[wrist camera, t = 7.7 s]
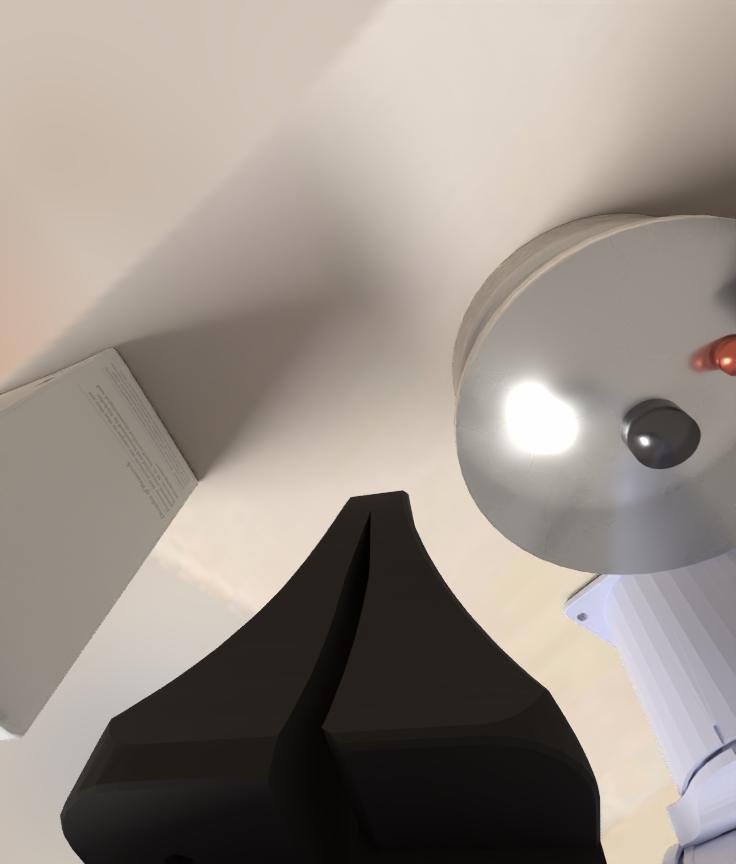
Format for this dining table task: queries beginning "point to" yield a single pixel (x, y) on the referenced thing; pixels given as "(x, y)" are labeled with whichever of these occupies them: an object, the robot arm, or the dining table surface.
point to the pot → (525, 275)
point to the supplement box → (74, 518)
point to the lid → (611, 402)
